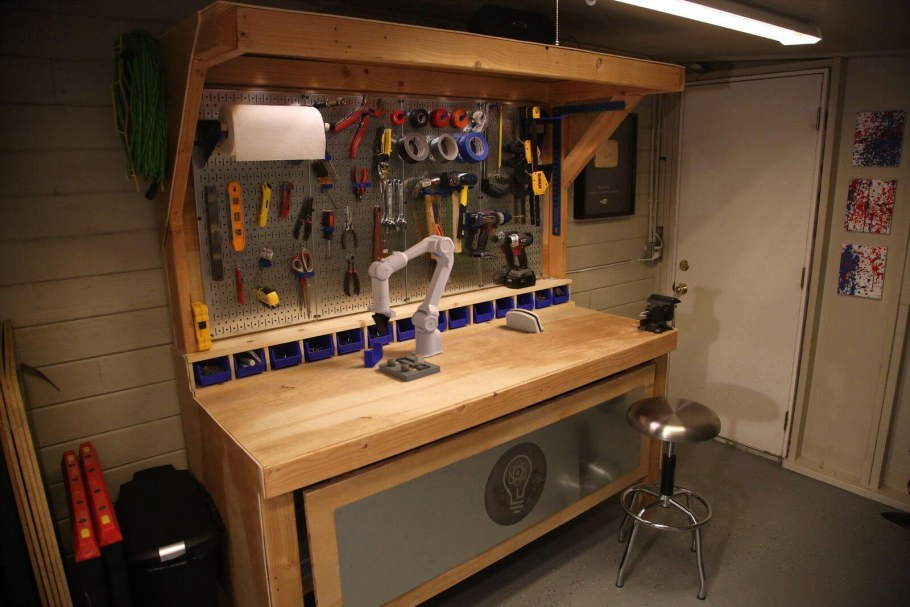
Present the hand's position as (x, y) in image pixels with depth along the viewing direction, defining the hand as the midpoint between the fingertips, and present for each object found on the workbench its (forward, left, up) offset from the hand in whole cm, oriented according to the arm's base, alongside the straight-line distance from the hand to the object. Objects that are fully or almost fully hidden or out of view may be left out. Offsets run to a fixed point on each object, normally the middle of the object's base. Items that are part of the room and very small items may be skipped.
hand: (382, 333), depth 216 cm
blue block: (+3, -3, -11) cm, 12 cm away
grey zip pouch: (-68, +6, -11) cm, 69 cm away
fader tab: (-2, +18, -8) cm, 20 cm away
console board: (-1, +14, -10) cm, 17 cm away
